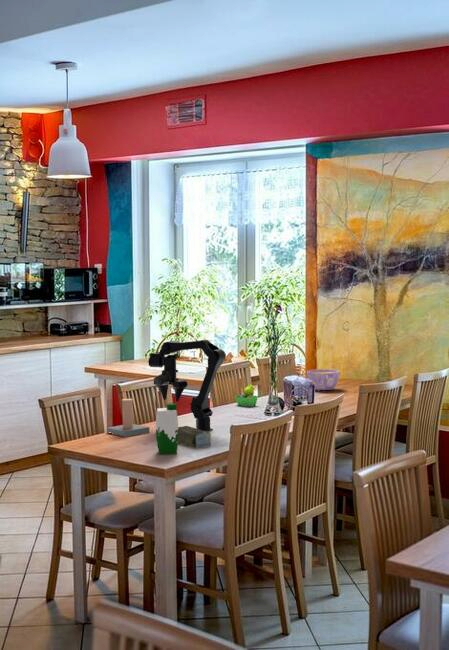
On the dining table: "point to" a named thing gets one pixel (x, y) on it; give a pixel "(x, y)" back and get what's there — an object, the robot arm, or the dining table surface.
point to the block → (127, 413)
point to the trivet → (128, 430)
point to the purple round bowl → (324, 378)
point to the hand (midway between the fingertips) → (170, 400)
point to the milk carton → (167, 429)
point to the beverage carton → (193, 437)
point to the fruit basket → (247, 397)
